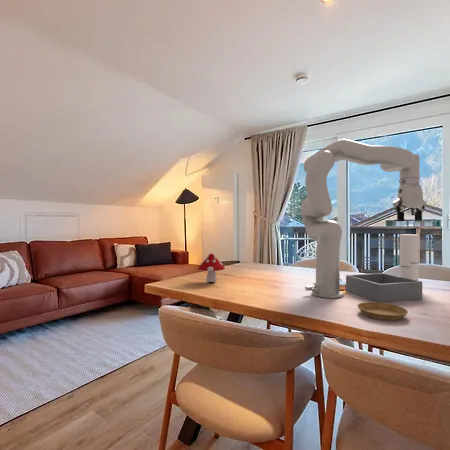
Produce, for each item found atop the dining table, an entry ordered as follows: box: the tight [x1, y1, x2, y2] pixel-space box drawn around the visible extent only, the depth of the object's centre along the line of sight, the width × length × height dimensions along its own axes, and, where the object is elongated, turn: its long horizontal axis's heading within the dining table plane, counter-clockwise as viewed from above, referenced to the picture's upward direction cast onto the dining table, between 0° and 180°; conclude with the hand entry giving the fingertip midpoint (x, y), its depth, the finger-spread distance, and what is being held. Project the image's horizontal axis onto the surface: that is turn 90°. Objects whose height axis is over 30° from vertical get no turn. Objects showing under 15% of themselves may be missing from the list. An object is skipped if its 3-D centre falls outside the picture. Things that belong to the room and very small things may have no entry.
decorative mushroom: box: [197, 253, 226, 283], centre depth 148 cm, size 14×14×15 cm
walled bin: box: [345, 272, 423, 303], centre depth 123 cm, size 20×20×7 cm
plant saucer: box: [356, 301, 409, 322], centre depth 97 cm, size 15×15×3 cm
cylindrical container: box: [399, 233, 420, 281], centre depth 131 cm, size 7×7×25 cm
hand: (409, 220), depth 131 cm, fingers open, 9 cm apart
